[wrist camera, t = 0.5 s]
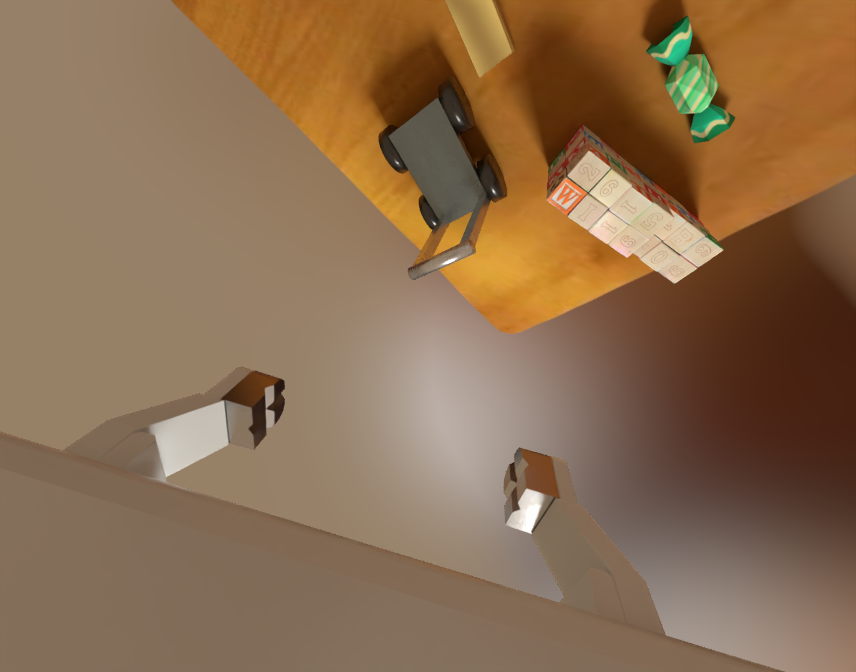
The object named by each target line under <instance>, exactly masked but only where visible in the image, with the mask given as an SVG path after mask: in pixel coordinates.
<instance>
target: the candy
mask: <svg viewBox="0 0 856 672" xmlns="http://www.w3.org/2000/svg"><path fill="white" fill-rule="evenodd" d="M692 35H693V34H692V30H691V25H690V21H689V17H688V16H686V17H685V18H683V19H681V20H680V21H678V22H677V23H675V24H674V27H673V30H672V33H671V34H670V35H669V36H668V37H667V38H666V39H664V40H663V41H662V42H661V43H660V44H658V45H657V46H654V45H653V44H651V45H650V47H649V48H648V49H647V51H646V52H647V53H648V54H650V55H651V56H652V57H654V58H655V59H657V60H658V61H659V62H662V63H664V64H667V65H669V66H672V68H671V71H670V73H669V76H668V78H667V81H666V83H665V86H666V88H667V90H668V92H669V94H670V96H671V98H672V99H673V101H674V103H675V105H676V107H677V109H678V111H679V113H680V114H689V113H694V117H693V121H692V126H691V133H692V137H693V140H694V143H699V142H705V141H709V140H710V139H712V138H714V137H715V136H717V135H719V134H720V133H722V132H724V131H725V130H727V129H729V128H730V126H731V125H732V123H733V121H734V120H735V117H734V116H733V115H731V114H730V113H729V112H727V111H726V110H724V109H723V108H721V107H718V106H716V105H713V104H711V101H712V99H713V97H714V95H715V92H716V90H717V88H718V86H719V85H718V82H717V80H716V78H715V76H714V74H713V72H712V70H711V68H710V65H709V63H708V61H707V59H706V57H705V55H704V54H693V55H688V53H689V49H690V44H691V39H692Z"/></svg>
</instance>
